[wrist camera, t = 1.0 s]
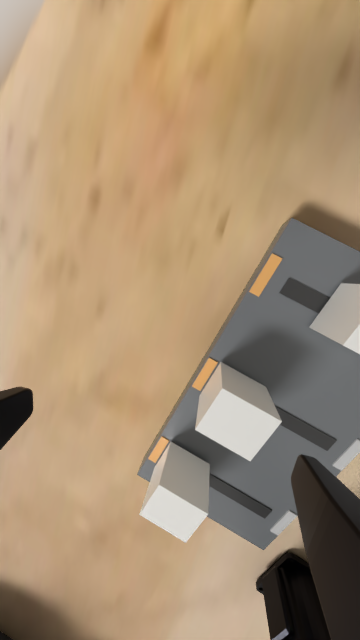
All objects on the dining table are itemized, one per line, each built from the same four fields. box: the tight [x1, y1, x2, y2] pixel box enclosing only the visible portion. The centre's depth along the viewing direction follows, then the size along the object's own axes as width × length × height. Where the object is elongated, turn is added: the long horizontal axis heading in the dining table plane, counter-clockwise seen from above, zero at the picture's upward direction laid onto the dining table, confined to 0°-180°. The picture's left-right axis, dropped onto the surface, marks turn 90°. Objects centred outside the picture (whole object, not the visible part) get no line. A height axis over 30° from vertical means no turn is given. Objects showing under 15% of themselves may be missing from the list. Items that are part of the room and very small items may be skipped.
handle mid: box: [195, 362, 282, 461], centre depth 15 cm, size 4×4×4 cm
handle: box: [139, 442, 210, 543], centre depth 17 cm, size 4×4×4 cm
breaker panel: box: [137, 218, 360, 550], centre depth 18 cm, size 14×26×2 cm, turn 153°
